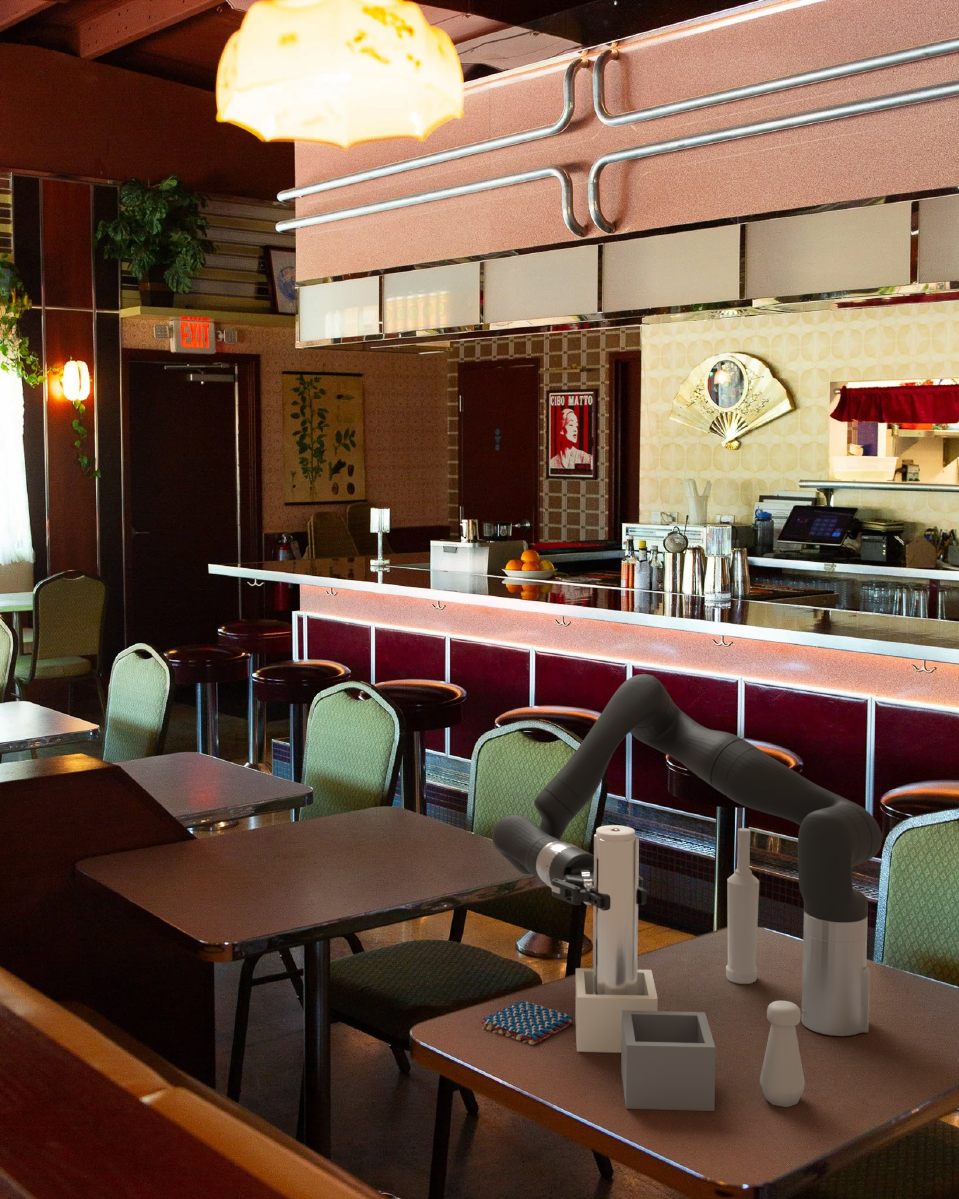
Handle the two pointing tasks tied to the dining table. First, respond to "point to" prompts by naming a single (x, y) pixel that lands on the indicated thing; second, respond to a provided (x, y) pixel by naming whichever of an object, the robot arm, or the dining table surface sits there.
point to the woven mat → (527, 1022)
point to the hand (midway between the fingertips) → (625, 900)
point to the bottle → (742, 916)
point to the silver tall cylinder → (616, 911)
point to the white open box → (607, 1011)
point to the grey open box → (667, 1061)
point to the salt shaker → (782, 1056)
